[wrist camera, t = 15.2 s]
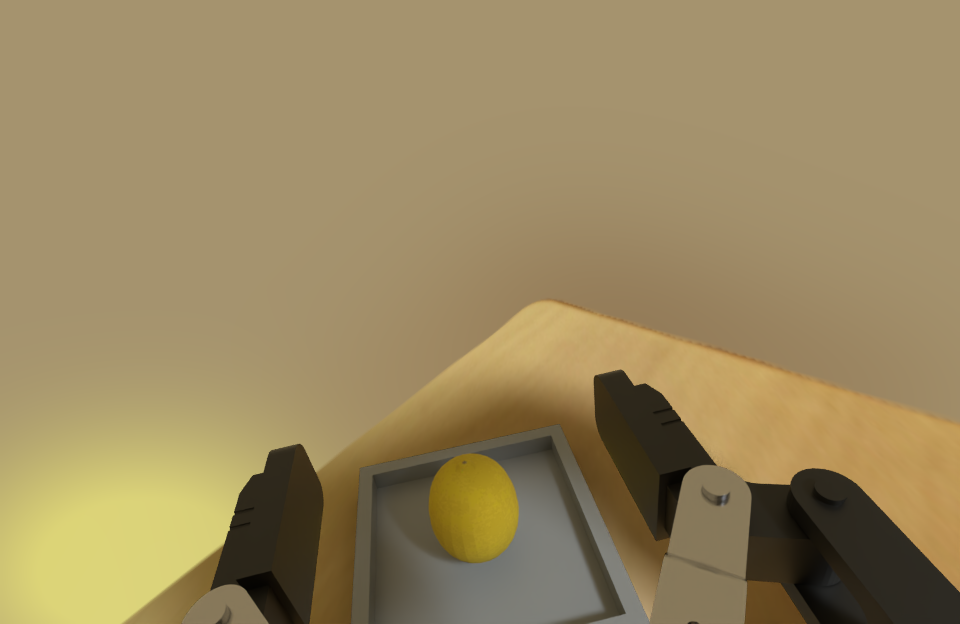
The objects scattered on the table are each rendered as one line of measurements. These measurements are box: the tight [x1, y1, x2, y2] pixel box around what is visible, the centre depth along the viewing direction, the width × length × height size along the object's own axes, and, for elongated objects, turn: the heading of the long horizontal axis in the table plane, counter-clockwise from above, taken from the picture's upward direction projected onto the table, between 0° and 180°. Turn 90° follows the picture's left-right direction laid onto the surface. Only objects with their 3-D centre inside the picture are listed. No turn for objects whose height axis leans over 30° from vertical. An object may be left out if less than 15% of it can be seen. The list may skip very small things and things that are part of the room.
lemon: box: [429, 453, 519, 563], centre depth 31 cm, size 6×6×8 cm
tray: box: [351, 424, 650, 624], centre depth 33 cm, size 16×16×2 cm
